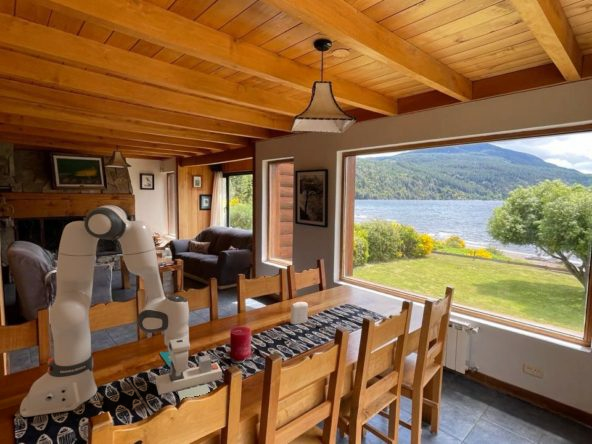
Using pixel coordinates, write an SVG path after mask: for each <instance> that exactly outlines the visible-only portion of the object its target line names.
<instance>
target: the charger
mask: <svg viewBox="0 0 592 444" xmlns="http://www.w3.org/2000/svg"><path fill="white" fill-rule="evenodd" d="M169 371H170V372H169V373H170V380H171V381H176V380H180V379H183V372H181V375H180V376H176V375H175V367H174V365H173V362H170V370H169Z"/></svg>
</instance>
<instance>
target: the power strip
mask: <svg viewBox="0 0 592 444" xmlns="http://www.w3.org/2000/svg"><path fill="white" fill-rule="evenodd" d="M222 379H223V370H222V368H221V367H220V365H219V364H218V362H214V363H212V358H211V356H210V355H209V354H208V355H202V356H199V357H198V366H196V367H191V368H187V370H186V371H184V372H183V379H180V380H176V381H171V380H170V372H169V373H166V374H165V373H164V374H161V375H156V376H155V387H156V390H157V393H158V395H159V396H160V395H164V394H167V393H168V394H169V393H172V392H177V391H181V390H185V389H189V388H193V387H197V386H201V385H205V384H207V383H211V382H214V381H218V380H222Z"/></svg>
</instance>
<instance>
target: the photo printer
mask: <svg viewBox="0 0 592 444" xmlns="http://www.w3.org/2000/svg"><path fill="white" fill-rule="evenodd" d="M290 307H291V308H290V320H289V321H290V324H291V325H297V324H299V325H300V324H306V323H307V322H308V314H309V313H308V312H309V305H308V303H307V302H305V301H296V302H294V303H292V304H291V306H290Z"/></svg>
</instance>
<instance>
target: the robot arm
mask: <svg viewBox="0 0 592 444" xmlns="http://www.w3.org/2000/svg"><path fill="white" fill-rule="evenodd" d="M101 239H102V240H110V241H118V242H119V244H120V248H121V251H122V257H123V261H124V263H125V266H126V269H127V271H128V272H129V273H132V275H135V276H139V277H141V280H143V285H144V288H145V292H146V295H147V300H146V304H145V306H144V307H143V308H142V309H141V311H140V312H139V313H138V315H137V318H136V324H137V326H138V329H140V331H142V332H144V333H147V334H152V333H160V332H164V345H165V346H167V351H169V354H170V356H171V359H172V362H173V365H174V367H175V375H176V376H180V375H181V372H184V371H186V370H187V369H188V365H189V362H188V361H189V350H190V349H191V344H190V332H189V331H190V327H189V319H190V310H189V309H190V308H189V302H188V299H187V298H186V297H185V296H183V295H178V294H172V295H168V296H167V294H166V293H165V290H164V286H163V281H162V277H161V274H160V271H159V264H158V256H157V249H156V244H155V240H154V237H153V234H152V231H151V229H150V226H149V225H148V224H147V223H146V222H144V221H142V220H132V221H131V220H129V217H128V214H127V212H126V210H125V209H124V208H123V207H121V206H119V205H117V204H116V205H115V204H105V205H101V206H98V207H96V208H94V209H92V210H90V211H89V212H88V214H86V216H85V219H84V220H77V221H72V222H69V223H68V224H66V225H65V226H64V229H63V230H62V234H61V238H60V242H59V247H58V253H57V255H58V257H57V262H56V263H57V264H56V265H57V266H56V274H55V276H56V291H55V292H56V293H55V299H54V302H53V303H52V305H51V307H50V309H49V314H48V315H49V317H48V318H49V323H50V329H51V334H52V335H51V336H52V339H53V351H54V352H53V355H54V356H53V357H50V358H48V360H47V371H46V373H45V374H43V375H42V376H41V377H39V378H38V379H36V380H35V381H34V382H33V383H32V385H31V386H30V389H29V392H28V394H27V395H26V396H25V397H24V398H23V399H22V401H21V403H20V406H19V415H20V416H21V417H23V418H28V417H35V416H41V415H48V414H54V413H60V412H69V411H73V410H75V409H77V408H78V407H80V405H82V404H83V403H85V402H87V401H88V400H91V398H93V397H94V396H95V395H96V394H97V391H98V387H97V384H96V382H95V377H94V371H93V369H94V357H93V353H92V336H91V335H92V334H91V329H90V318H89V317H90V315H89V313H90V307H91V304H92V298H93V297H92V294H93V285H94V273H95V272H94V271H95V264H96V263H95V262H96V257H97V255H96V254H97V248H98V241H99V240H101Z"/></svg>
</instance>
